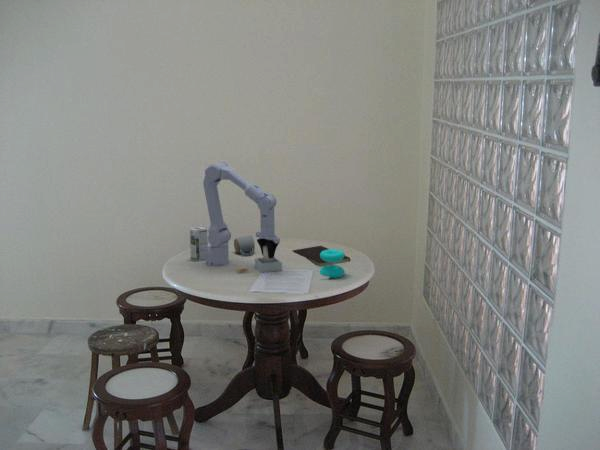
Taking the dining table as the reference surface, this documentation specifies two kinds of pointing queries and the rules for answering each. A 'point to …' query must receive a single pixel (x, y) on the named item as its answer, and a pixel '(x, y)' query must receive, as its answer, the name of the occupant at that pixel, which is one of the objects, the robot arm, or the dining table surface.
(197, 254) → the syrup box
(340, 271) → the donuts
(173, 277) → the dining table surface
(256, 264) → the pale grey open tray
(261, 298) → the dining table surface
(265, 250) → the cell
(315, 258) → the hardcover book
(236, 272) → the brown rectangular board
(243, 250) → the ceramic mug
